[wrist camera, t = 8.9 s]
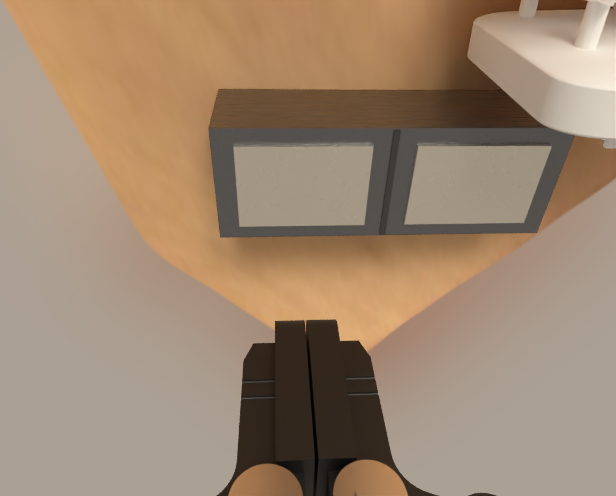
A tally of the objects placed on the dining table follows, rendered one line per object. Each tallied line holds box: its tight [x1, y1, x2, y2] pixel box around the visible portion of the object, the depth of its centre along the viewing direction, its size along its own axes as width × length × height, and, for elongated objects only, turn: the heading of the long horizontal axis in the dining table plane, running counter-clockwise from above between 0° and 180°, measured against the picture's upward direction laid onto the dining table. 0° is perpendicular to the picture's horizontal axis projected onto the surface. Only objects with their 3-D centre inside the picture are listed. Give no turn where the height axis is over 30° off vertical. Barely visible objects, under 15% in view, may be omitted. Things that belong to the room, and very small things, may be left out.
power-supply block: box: [209, 89, 575, 237], centre depth 25 cm, size 6×17×5 cm, turn 89°
